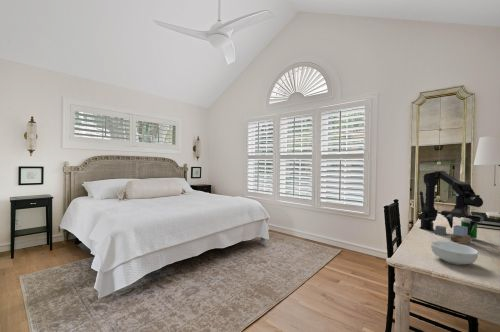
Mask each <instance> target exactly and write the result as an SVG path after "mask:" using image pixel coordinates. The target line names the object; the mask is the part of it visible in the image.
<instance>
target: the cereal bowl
mask: <svg viewBox="0 0 500 332" xmlns="http://www.w3.org/2000/svg"><path fill="white" fill-rule="evenodd" d="M430 245H431V246H430V248H431V251H432V253H433V254H434V255H435V256H436V257H438V258H439V259H441V260H443V262H446V263H449V264H451V265H452V264H453V265H457V266H463V265H471V264H472V263H475V262H476V261H477V259H478V257H479V251H478V250H476V249H475V248H473V247H471V246H468V245H466V244H462V243H458V242H454V241H447V240H446V241H444V240H435V241H432V242H431V243H430Z"/></svg>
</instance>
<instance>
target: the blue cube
mask: <svg viewBox="0 0 500 332" xmlns="http://www.w3.org/2000/svg"><path fill="white" fill-rule="evenodd" d="M452 229H453V231H452V232H453V233H452V234H454V235H459V236H463V237H464V236H467V233H468V227H464V226H461V225H458V224H457V225H453V228H452Z"/></svg>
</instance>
